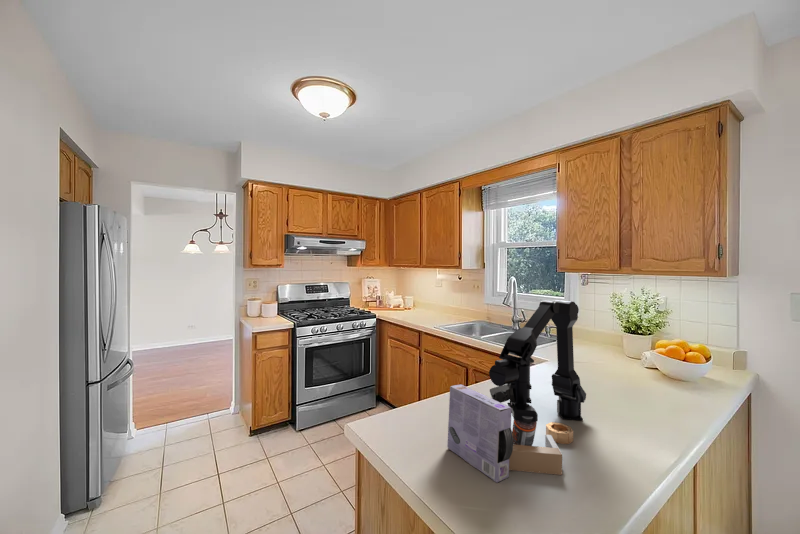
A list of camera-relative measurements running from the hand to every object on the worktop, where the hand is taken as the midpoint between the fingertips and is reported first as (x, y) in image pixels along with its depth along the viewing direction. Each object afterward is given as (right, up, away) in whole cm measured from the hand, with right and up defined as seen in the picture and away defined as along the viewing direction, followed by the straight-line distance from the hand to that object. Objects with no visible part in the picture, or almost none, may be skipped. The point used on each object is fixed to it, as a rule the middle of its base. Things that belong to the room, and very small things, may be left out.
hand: (519, 431), depth 100 cm
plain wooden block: (-2, -2, -10) cm, 10 cm away
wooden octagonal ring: (+12, -2, +1) cm, 13 cm away
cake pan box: (-15, -3, -12) cm, 20 cm away
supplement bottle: (0, -1, -3) cm, 3 cm away
